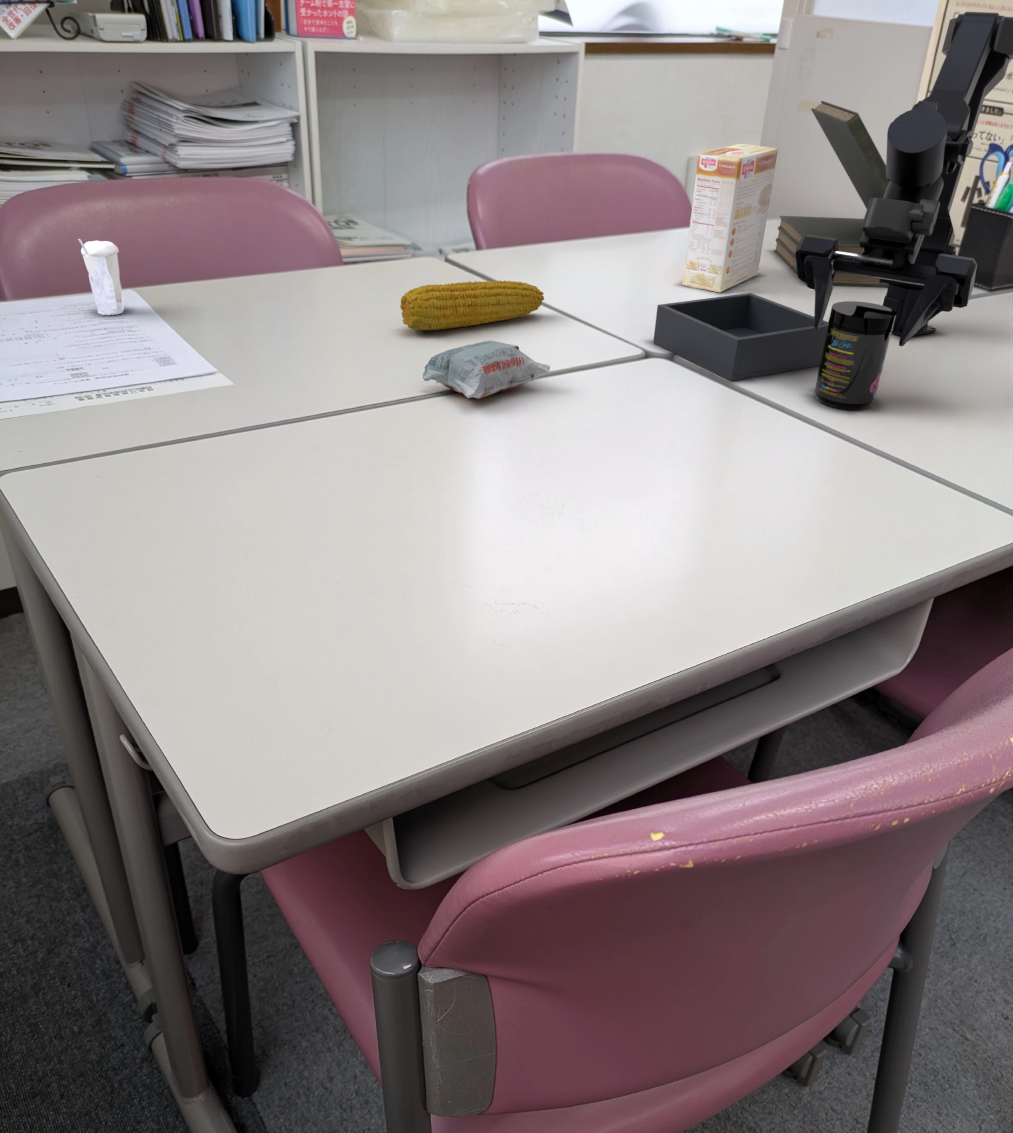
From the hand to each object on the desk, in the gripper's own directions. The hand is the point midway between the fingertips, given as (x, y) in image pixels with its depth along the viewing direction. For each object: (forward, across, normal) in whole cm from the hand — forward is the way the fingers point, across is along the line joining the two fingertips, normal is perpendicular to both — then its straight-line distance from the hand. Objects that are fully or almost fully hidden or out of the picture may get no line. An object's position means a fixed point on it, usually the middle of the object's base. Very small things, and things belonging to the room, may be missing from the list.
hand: (857, 335), depth 103 cm
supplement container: (+5, 0, +6) cm, 8 cm away
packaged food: (+21, -34, -10) cm, 41 cm away
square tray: (-1, -16, +12) cm, 20 cm away
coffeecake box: (-25, -31, +36) cm, 54 cm away
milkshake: (+25, -91, -14) cm, 95 cm away
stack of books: (-41, -16, +51) cm, 67 cm away
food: (+6, -49, +5) cm, 50 cm away
